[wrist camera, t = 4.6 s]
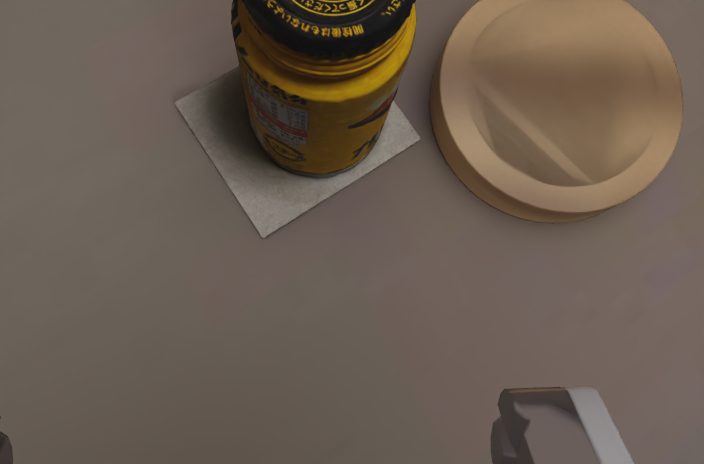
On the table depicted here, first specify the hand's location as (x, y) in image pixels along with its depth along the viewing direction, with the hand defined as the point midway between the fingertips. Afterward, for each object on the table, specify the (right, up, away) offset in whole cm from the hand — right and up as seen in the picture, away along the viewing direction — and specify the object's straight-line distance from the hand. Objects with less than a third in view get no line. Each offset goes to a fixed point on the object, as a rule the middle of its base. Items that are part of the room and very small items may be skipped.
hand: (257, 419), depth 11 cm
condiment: (-1, +8, +19) cm, 21 cm away
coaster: (+11, +9, +20) cm, 24 cm away
